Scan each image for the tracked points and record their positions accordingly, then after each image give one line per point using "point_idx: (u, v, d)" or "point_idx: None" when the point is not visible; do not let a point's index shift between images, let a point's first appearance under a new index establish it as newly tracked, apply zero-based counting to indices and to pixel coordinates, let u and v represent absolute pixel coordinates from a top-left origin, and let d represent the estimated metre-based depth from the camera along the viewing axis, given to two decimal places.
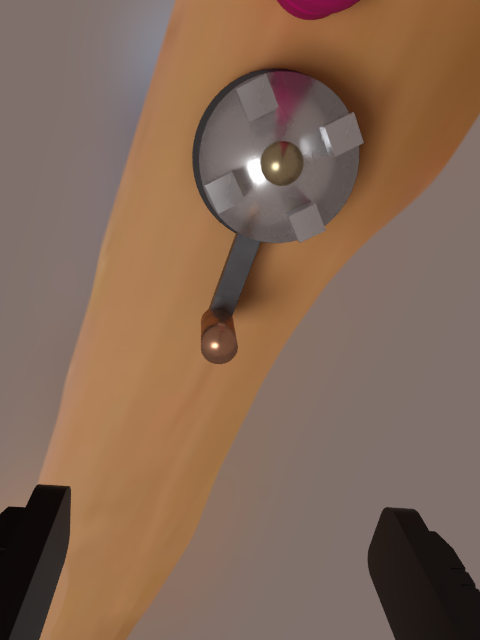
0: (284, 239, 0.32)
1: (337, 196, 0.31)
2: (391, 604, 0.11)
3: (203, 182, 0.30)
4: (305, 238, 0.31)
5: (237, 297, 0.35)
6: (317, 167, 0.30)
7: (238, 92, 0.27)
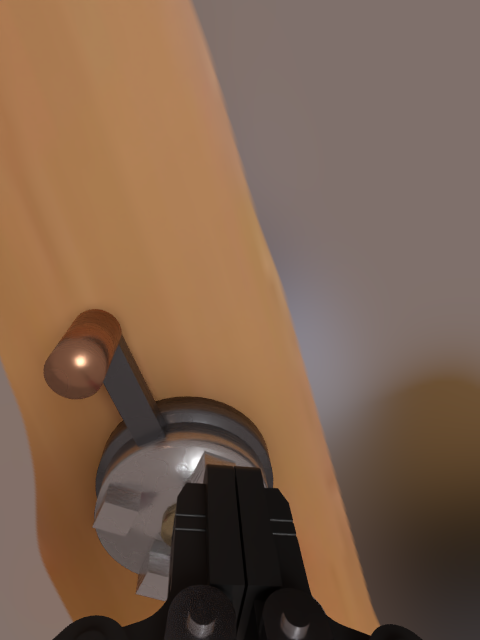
0: (118, 474, 0.26)
1: (111, 535, 0.28)
2: None
3: (237, 461, 0.26)
4: (103, 508, 0.25)
5: (103, 378, 0.25)
6: (150, 538, 0.28)
7: None
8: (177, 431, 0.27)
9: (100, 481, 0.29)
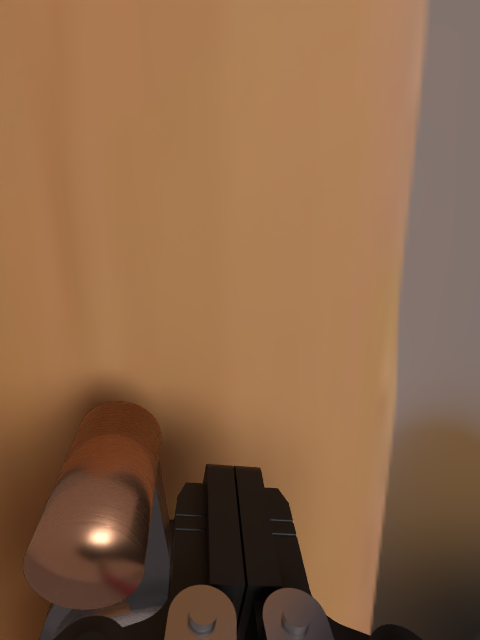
0: None
1: None
2: None
3: None
4: None
5: None
6: None
7: None
8: None
9: (50, 628, 0.19)
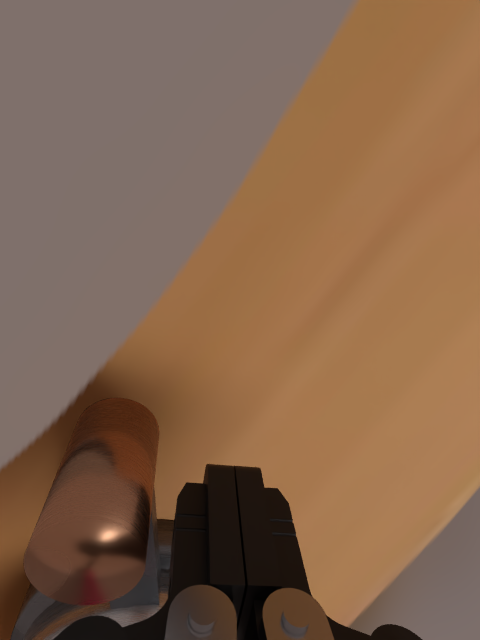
0: None
1: None
2: None
3: None
4: None
5: None
6: None
7: None
8: None
9: None
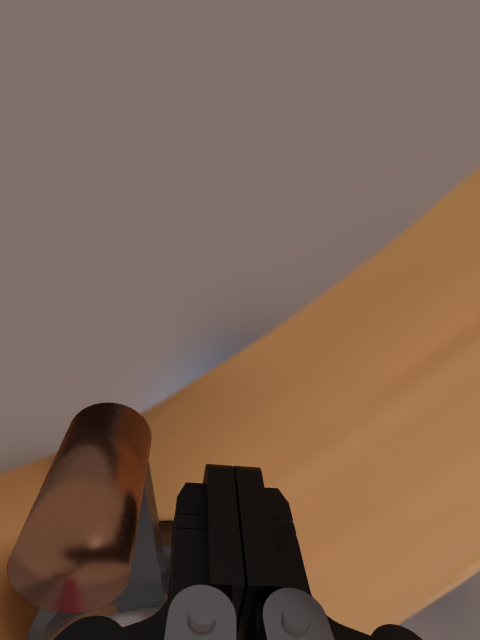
0: None
1: None
2: None
3: None
4: None
5: None
6: None
7: None
8: None
9: None
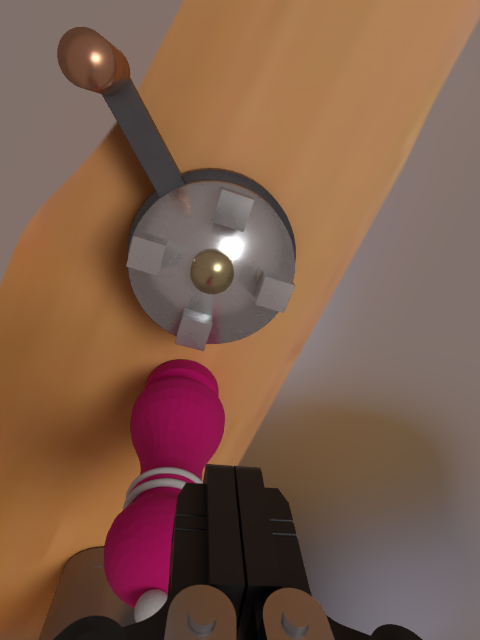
0: (144, 220, 0.28)
1: (146, 291, 0.30)
2: None
3: (253, 196, 0.28)
4: (133, 244, 0.27)
5: (119, 121, 0.26)
6: (183, 294, 0.30)
7: (291, 285, 0.28)
8: (195, 181, 0.28)
9: (157, 195, 0.30)
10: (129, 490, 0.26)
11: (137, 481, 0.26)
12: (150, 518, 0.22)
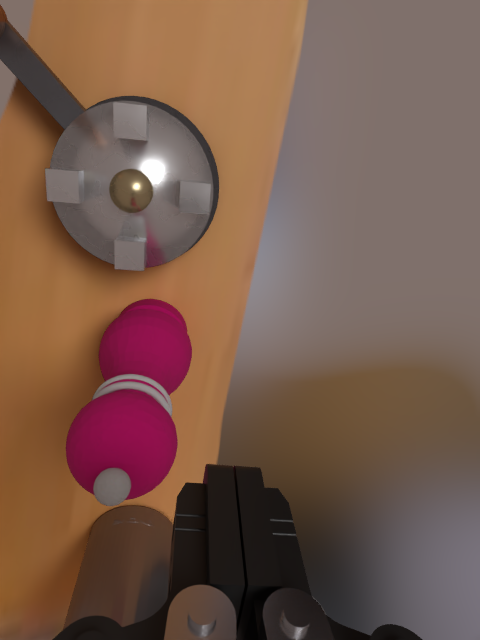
0: (56, 155, 0.29)
1: (78, 226, 0.31)
2: None
3: (150, 106, 0.28)
4: (47, 176, 0.28)
5: (8, 65, 0.28)
6: (112, 221, 0.31)
7: (207, 184, 0.29)
8: None
9: None
10: None
11: (96, 394, 0.27)
12: (98, 408, 0.23)
